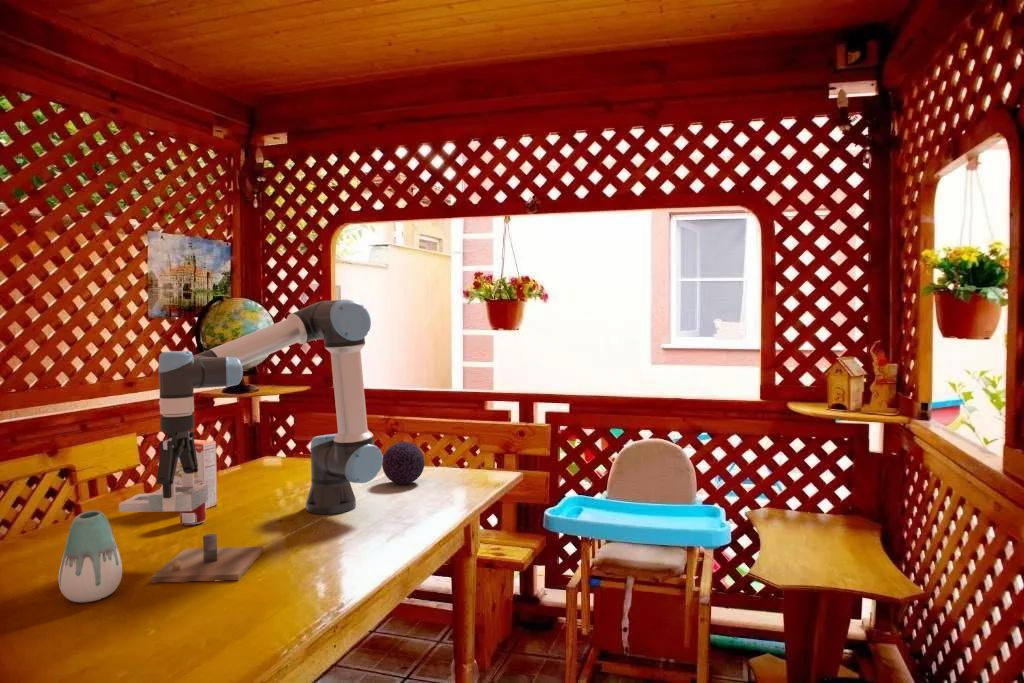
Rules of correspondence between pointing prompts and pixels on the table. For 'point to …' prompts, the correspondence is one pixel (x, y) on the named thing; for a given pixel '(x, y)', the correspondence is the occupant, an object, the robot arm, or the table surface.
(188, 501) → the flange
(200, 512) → the soda can
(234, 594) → the table surface
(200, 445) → the cracker box
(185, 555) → the post base
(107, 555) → the vase
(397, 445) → the toy ball
